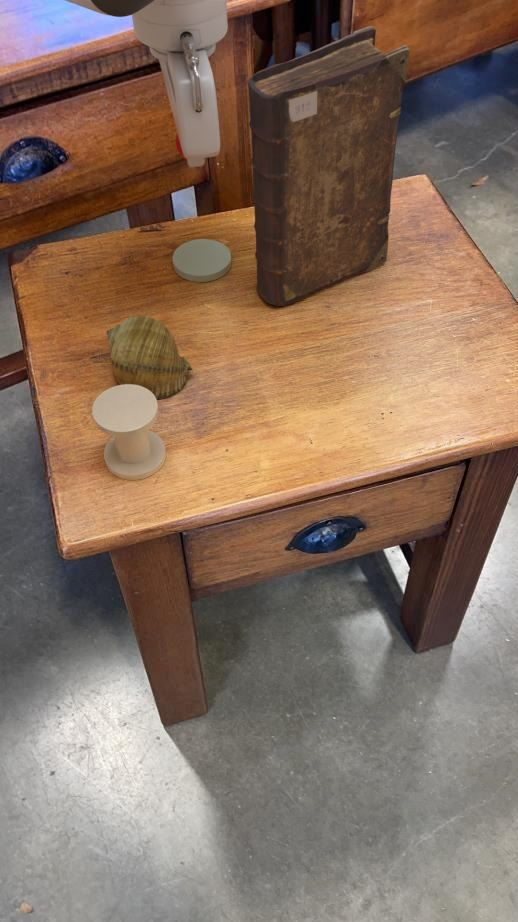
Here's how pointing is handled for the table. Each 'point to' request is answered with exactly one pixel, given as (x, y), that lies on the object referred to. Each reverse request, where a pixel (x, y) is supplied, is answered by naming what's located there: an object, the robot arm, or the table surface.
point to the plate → (202, 260)
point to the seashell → (147, 356)
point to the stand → (129, 431)
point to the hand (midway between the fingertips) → (192, 151)
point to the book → (324, 164)
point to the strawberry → (179, 146)
